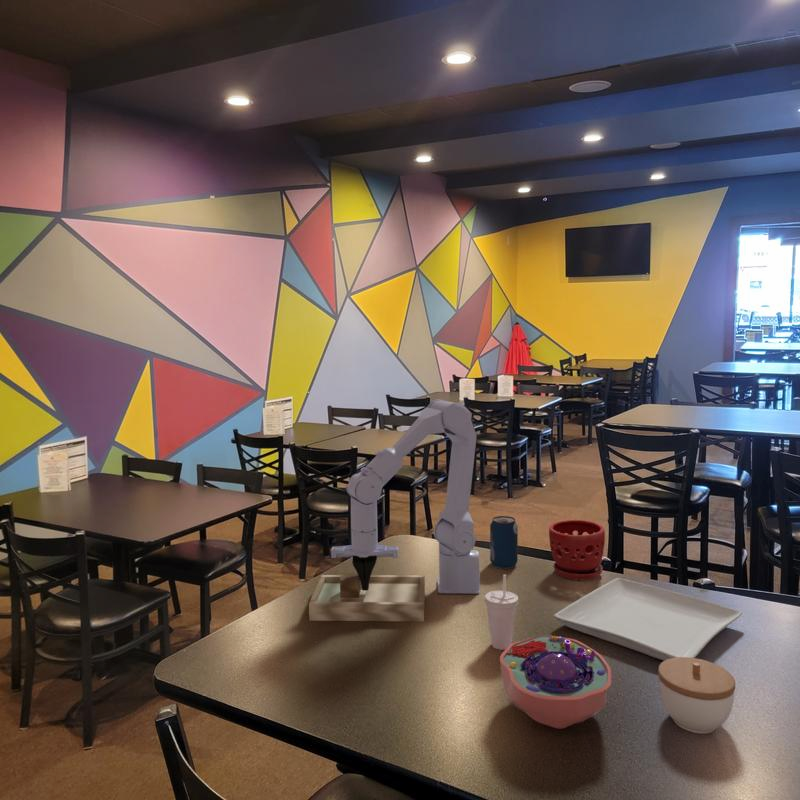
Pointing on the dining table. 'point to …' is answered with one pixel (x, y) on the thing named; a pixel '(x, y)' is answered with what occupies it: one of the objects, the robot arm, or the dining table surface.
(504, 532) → the soda can
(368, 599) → the box
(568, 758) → the dining table surface
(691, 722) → the lidded jar
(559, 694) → the cell model
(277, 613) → the dining table surface
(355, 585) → the walnut block
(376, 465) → the robot arm
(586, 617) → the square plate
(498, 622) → the smoothie
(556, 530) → the plant pot
